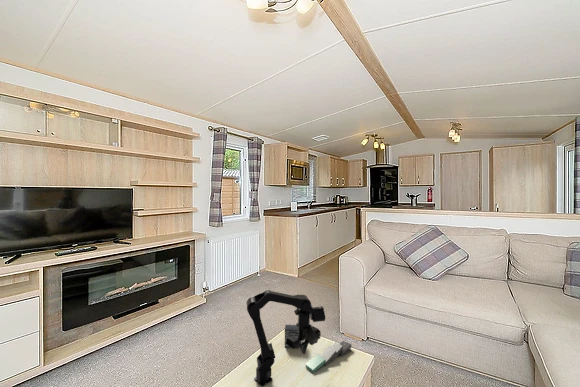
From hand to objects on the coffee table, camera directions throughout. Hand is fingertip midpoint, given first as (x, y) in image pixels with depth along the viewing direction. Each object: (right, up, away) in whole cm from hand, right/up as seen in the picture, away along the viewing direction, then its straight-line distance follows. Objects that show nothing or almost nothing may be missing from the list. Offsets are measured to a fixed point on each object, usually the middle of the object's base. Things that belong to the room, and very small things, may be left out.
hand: (303, 353), depth 128 cm
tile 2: (+10, -9, +8) cm, 16 cm away
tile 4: (+20, -8, +16) cm, 27 cm away
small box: (-4, -10, +24) cm, 27 cm away
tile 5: (+19, -10, +15) cm, 26 cm away
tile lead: (+3, -9, +3) cm, 10 cm away
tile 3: (+14, -9, +12) cm, 21 cm away
